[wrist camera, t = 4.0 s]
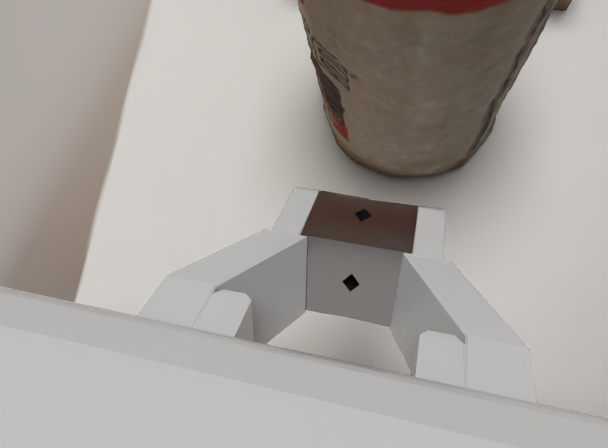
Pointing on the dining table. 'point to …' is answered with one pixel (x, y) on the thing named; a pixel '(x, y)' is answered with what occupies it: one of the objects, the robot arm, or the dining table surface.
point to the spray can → (418, 75)
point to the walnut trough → (562, 4)
